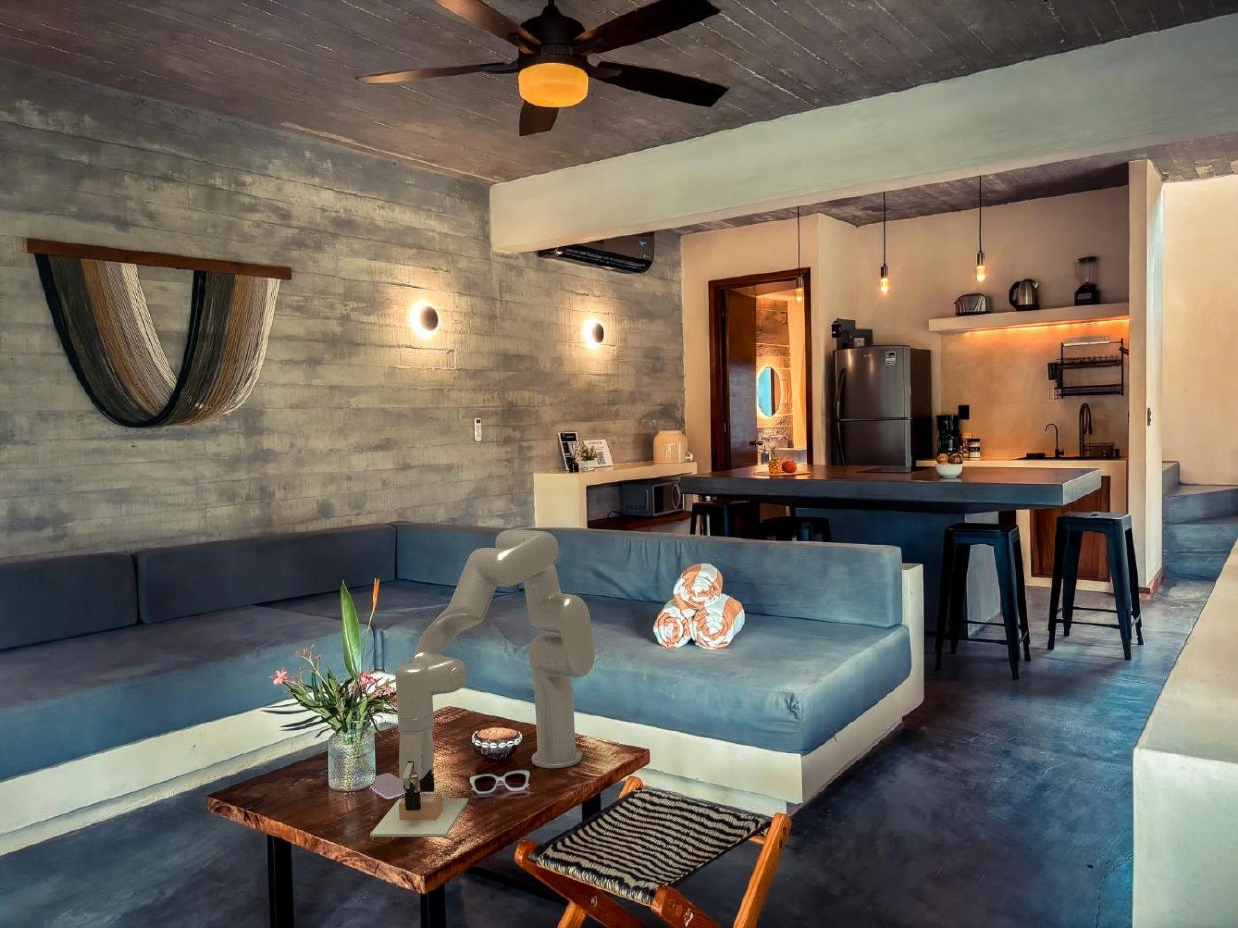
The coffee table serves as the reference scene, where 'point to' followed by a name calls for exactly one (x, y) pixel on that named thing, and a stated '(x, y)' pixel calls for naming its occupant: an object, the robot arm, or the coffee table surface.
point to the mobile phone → (388, 786)
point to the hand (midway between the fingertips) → (420, 800)
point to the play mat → (420, 822)
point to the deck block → (423, 808)
